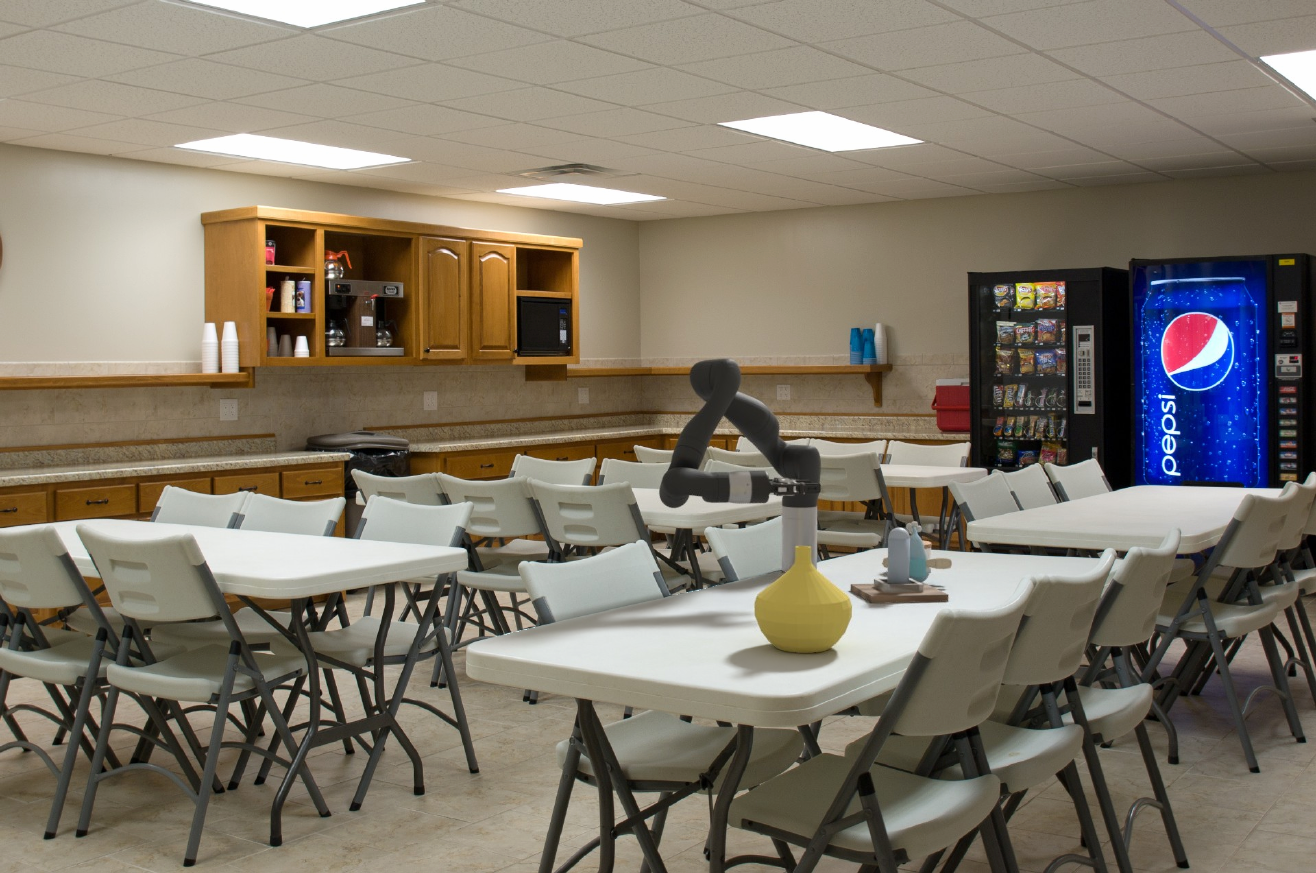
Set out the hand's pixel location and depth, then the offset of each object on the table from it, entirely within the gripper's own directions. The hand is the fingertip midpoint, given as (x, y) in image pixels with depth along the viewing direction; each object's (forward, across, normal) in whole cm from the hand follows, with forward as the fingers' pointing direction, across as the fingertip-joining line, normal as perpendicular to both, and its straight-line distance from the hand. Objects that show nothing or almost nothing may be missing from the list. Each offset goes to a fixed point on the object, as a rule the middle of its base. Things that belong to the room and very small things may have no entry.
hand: (815, 486), depth 288 cm
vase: (-16, -52, +26) cm, 60 cm away
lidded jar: (+35, +35, +26) cm, 56 cm away
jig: (+20, 0, +26) cm, 33 cm away
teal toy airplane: (+30, +17, +26) cm, 43 cm away
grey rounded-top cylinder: (+20, 0, +24) cm, 31 cm away
